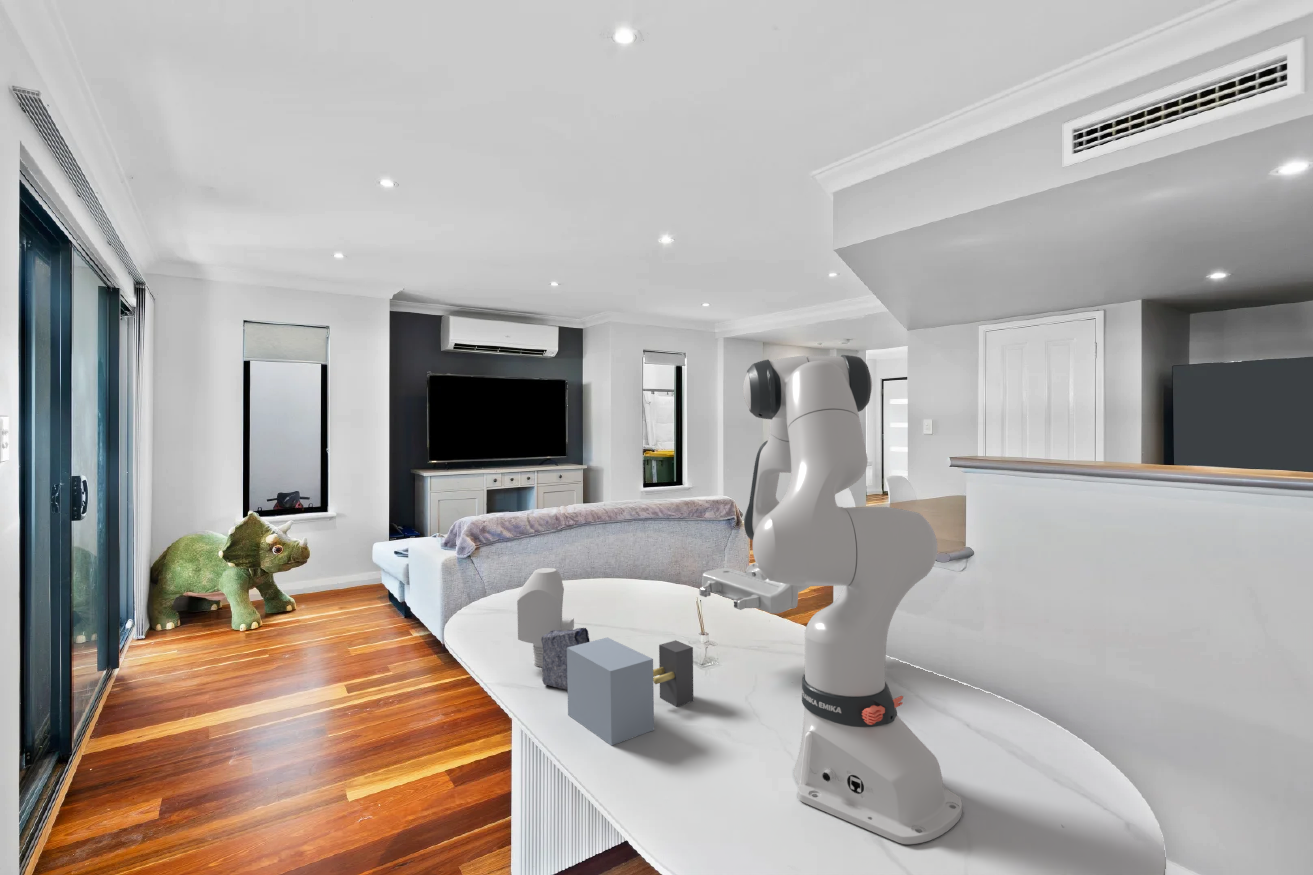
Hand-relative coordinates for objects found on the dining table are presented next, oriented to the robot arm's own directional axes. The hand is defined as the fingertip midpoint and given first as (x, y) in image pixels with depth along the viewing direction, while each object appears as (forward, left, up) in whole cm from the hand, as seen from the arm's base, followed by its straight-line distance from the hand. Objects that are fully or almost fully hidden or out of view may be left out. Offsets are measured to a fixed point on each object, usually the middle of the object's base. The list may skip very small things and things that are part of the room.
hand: (718, 598), depth 128 cm
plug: (-1, +13, -17) cm, 21 cm away
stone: (+19, +23, -17) cm, 35 cm away
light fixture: (+31, +21, -17) cm, 42 cm away
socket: (-1, +26, -17) cm, 31 cm away
